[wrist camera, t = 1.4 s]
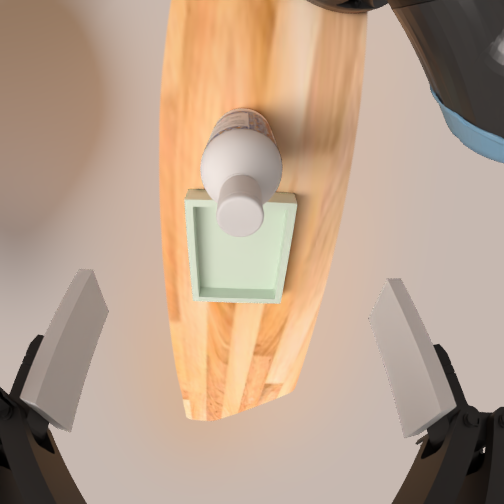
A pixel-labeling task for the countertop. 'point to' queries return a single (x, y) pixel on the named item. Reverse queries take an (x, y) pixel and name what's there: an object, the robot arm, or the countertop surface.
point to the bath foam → (241, 170)
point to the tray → (238, 252)
